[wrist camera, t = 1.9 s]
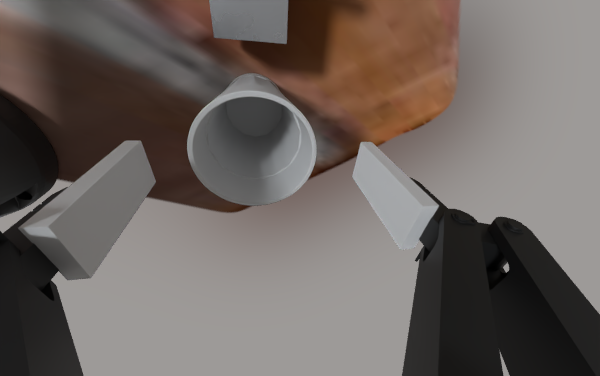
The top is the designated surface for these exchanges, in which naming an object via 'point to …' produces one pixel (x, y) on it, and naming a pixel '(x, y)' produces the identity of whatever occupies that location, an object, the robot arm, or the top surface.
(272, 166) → the cup
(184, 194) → the top surface
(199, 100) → the top surface
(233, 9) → the grey rectangular slab
